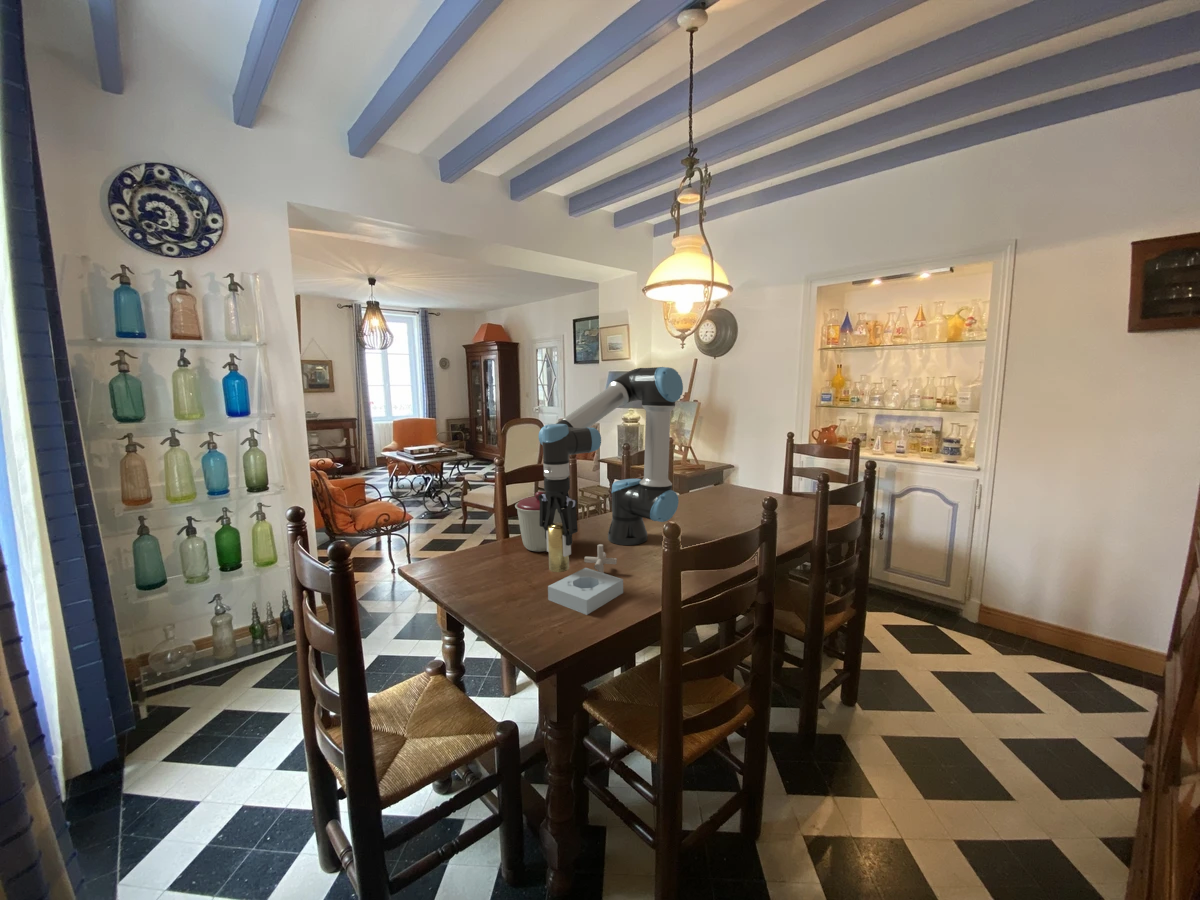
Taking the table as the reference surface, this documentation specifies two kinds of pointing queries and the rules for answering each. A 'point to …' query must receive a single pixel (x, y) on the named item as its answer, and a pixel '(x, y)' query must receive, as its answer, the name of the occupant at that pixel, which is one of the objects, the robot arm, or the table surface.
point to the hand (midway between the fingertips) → (558, 552)
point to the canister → (533, 523)
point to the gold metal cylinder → (556, 548)
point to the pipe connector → (600, 559)
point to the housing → (585, 590)
